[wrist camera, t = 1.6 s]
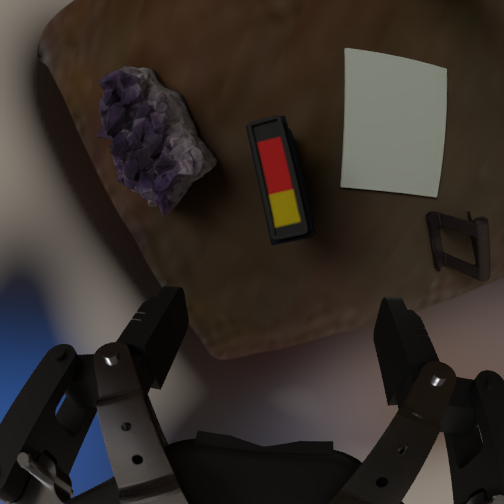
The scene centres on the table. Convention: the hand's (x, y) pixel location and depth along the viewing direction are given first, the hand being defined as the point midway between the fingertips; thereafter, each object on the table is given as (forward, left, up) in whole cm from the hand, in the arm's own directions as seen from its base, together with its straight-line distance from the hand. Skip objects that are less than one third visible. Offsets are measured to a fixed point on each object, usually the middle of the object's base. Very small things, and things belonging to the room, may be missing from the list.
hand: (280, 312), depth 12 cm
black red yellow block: (0, -1, -28) cm, 28 cm away
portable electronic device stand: (+7, +24, -29) cm, 38 cm away
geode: (-5, -17, -29) cm, 34 cm away
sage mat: (-7, +13, -28) cm, 32 cm away
